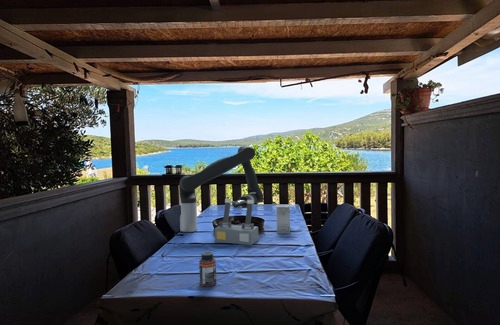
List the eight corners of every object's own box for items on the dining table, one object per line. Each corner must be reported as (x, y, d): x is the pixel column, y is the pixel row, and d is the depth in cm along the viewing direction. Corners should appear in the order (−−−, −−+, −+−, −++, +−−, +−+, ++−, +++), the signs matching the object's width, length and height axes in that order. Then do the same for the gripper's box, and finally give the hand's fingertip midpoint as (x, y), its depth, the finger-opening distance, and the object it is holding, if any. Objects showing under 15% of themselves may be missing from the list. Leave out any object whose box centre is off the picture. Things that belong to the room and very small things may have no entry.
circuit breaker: (289, 226, 195) (289, 202, 194) (290, 232, 181) (289, 206, 180) (277, 226, 196) (276, 202, 195) (277, 232, 182) (276, 207, 181)
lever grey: (243, 226, 165) (246, 199, 169) (245, 227, 166) (248, 200, 170) (249, 227, 163) (252, 199, 167) (251, 227, 165) (253, 200, 169)
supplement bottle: (200, 280, 117) (199, 250, 116) (216, 280, 117) (215, 250, 117) (199, 287, 111) (198, 256, 110) (216, 286, 111) (215, 255, 111)
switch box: (214, 241, 167) (214, 223, 167) (223, 236, 176) (222, 219, 176) (251, 245, 159) (251, 226, 159) (258, 239, 169) (258, 222, 168)
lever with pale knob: (221, 225, 170) (225, 198, 174) (223, 225, 171) (226, 199, 175) (227, 225, 168) (230, 199, 172) (228, 225, 170) (232, 199, 174)
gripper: (236, 194, 200) (224, 199, 184) (256, 195, 195) (245, 199, 179) (236, 206, 200) (224, 211, 184) (256, 207, 195) (245, 213, 179)
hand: (235, 205), depth 182 cm, fingers closed
